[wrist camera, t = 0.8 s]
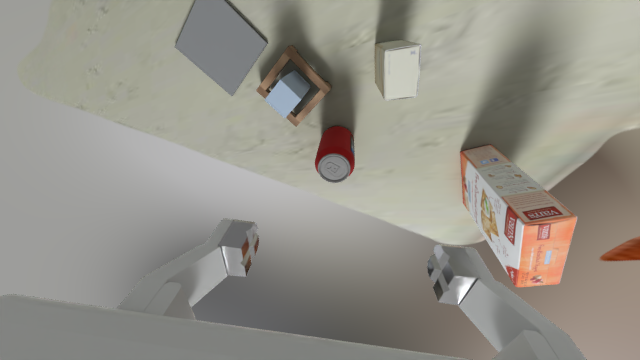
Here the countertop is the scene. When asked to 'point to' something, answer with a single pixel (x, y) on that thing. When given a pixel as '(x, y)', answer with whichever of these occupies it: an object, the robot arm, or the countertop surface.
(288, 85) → the peg
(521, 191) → the cracker box
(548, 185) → the countertop surface
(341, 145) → the beverage can
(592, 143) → the countertop surface
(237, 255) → the robot arm
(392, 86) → the skincare box
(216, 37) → the mat
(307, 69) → the wooden square frame
